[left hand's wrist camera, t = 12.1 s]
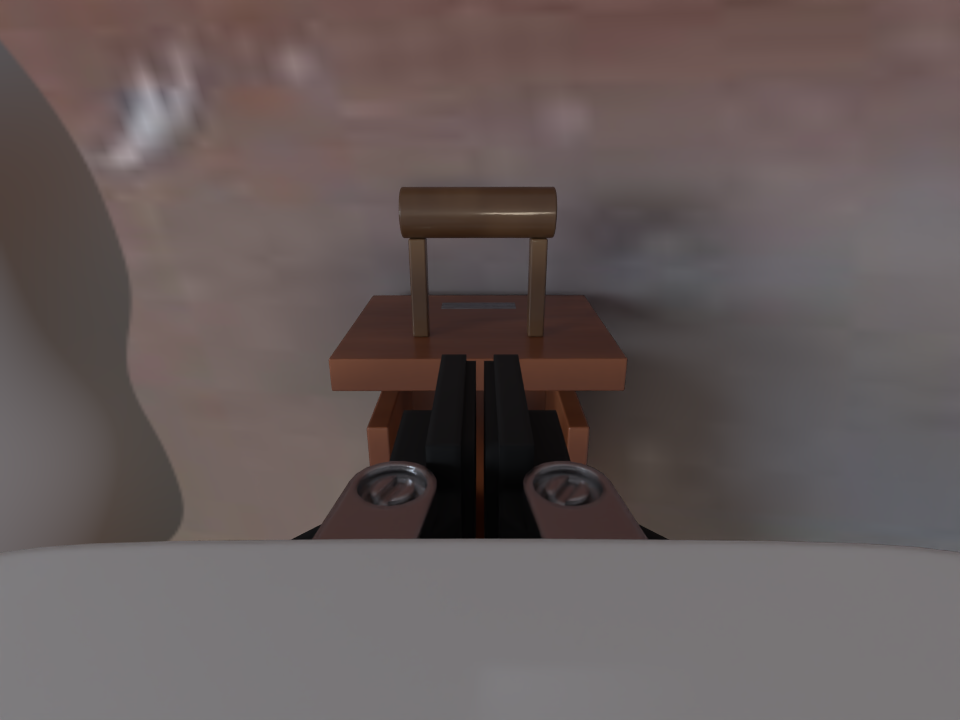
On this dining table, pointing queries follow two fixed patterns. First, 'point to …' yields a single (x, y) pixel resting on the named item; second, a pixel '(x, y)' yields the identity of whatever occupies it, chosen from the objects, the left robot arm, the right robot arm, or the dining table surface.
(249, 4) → the dining table surface
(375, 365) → the drawer
